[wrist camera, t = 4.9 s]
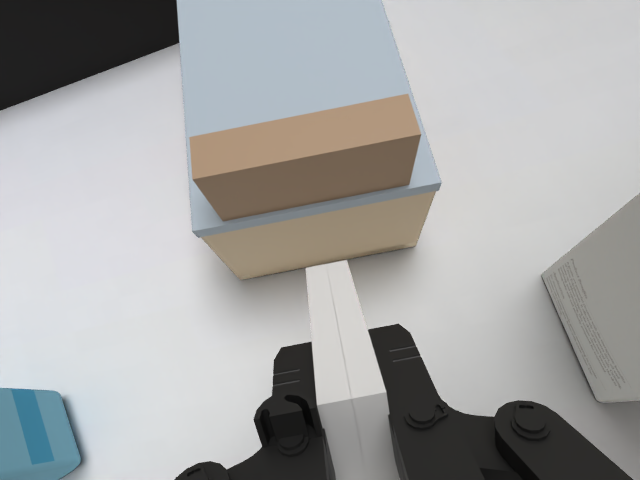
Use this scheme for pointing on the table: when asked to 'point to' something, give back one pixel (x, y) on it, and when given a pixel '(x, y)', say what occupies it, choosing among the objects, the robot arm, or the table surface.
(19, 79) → the headphone box
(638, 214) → the skincare box
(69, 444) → the data package
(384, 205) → the open wooden box
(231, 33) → the lid
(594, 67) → the table surface
